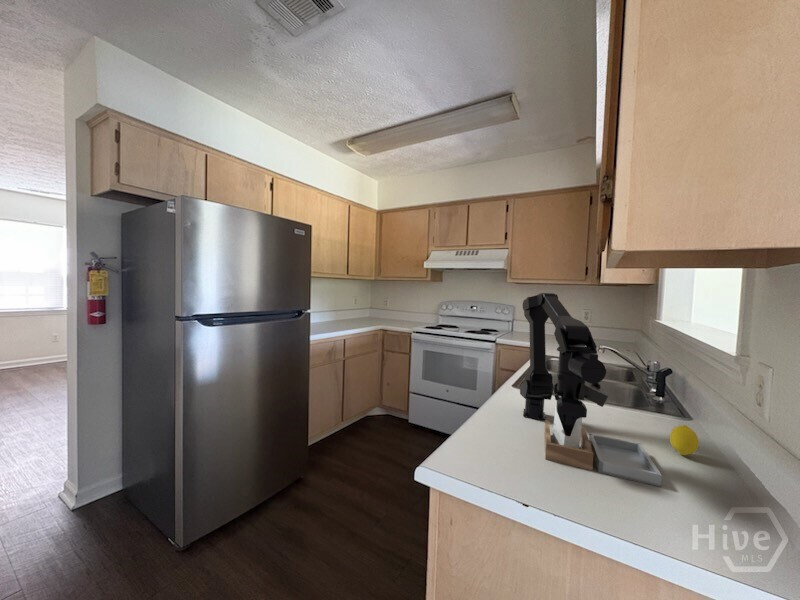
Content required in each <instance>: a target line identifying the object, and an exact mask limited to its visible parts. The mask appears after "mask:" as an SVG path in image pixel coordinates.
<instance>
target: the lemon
mask: <svg viewBox="0 0 800 600" xmlns="http://www.w3.org/2000/svg"><path fill="white" fill-rule="evenodd" d="M669 442H670V444H671V446H672V448H673V450H675V451H676V452H678V453H679V454H680V455H681V456H684V457H685V456H687V455H693V454H694V453H696V452H697V450H698V448H699V438H698V435H697V433H696V432H695V431H694V429H692V428H690V427H688V425H685V424H682V425H678V426H675V427H674V428H673V429H672V430H671V432H670V435H669Z"/></svg>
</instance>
